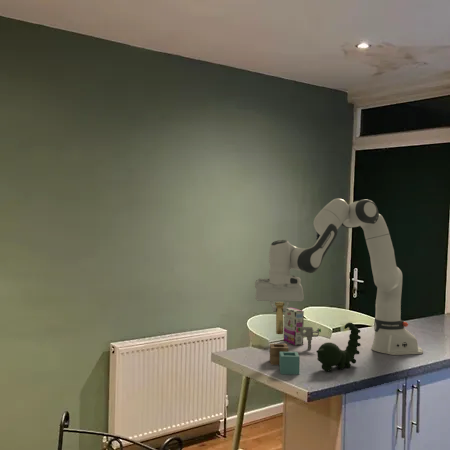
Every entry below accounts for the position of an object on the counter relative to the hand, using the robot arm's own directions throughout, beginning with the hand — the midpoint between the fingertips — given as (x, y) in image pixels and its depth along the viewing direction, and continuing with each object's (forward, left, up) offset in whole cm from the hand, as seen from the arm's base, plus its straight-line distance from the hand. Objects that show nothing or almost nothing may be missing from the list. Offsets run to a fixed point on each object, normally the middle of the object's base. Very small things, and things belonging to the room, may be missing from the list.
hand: (279, 311), depth 225 cm
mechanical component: (-16, -22, -22) cm, 35 cm away
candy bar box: (-10, -34, -22) cm, 42 cm away
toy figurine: (-23, +7, -22) cm, 33 cm away
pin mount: (0, 0, -22) cm, 22 cm away
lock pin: (0, 0, -9) cm, 9 cm away
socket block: (-3, +13, -22) cm, 25 cm away
